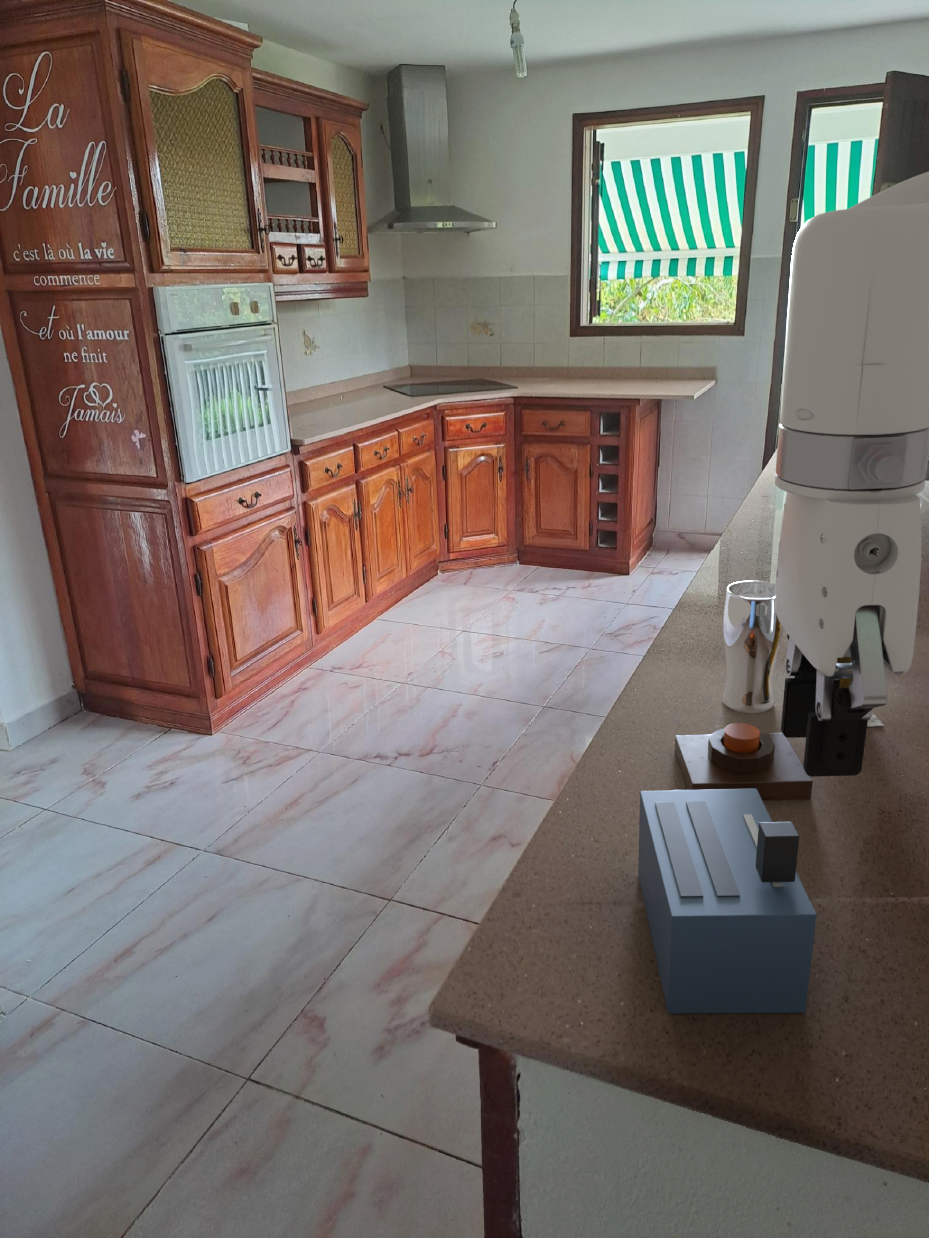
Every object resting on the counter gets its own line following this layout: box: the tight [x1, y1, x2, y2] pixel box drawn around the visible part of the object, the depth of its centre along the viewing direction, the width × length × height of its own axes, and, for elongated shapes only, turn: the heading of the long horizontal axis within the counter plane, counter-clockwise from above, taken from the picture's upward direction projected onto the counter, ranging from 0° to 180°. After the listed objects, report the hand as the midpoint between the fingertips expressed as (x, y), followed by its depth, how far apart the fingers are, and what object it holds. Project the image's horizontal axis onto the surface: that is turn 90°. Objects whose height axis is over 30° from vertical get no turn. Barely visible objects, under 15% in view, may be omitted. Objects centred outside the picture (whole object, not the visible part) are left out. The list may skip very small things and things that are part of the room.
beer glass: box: [721, 580, 785, 715], centre depth 107 cm, size 7×7×15 cm
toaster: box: [637, 788, 818, 1015], centre depth 71 cm, size 10×16×9 cm, turn 177°
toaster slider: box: [755, 821, 800, 882], centre depth 64 cm, size 2×2×4 cm
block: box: [674, 727, 813, 801], centre depth 94 cm, size 12×10×4 cm
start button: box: [723, 722, 761, 753], centre depth 93 cm, size 4×4×2 cm
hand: (819, 750), depth 54 cm, fingers open, 3 cm apart
